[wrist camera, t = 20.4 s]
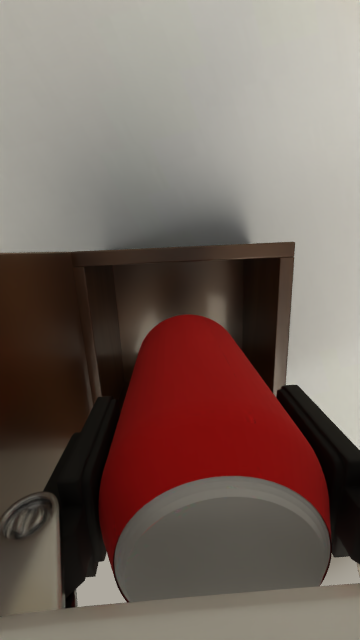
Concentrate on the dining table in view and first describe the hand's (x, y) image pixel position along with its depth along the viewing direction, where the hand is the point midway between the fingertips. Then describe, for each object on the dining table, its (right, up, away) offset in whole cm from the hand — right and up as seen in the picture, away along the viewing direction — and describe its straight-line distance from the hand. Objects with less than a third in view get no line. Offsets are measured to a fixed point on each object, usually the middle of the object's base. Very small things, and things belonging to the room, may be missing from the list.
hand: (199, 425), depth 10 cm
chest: (-1, +4, +16) cm, 16 cm away
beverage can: (0, +2, +7) cm, 7 cm away
